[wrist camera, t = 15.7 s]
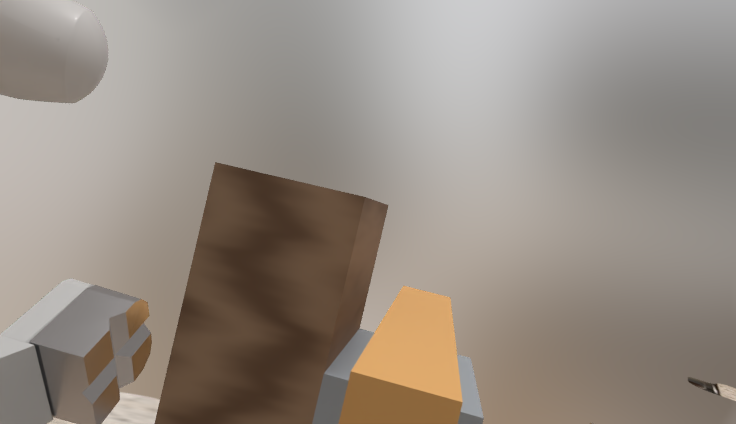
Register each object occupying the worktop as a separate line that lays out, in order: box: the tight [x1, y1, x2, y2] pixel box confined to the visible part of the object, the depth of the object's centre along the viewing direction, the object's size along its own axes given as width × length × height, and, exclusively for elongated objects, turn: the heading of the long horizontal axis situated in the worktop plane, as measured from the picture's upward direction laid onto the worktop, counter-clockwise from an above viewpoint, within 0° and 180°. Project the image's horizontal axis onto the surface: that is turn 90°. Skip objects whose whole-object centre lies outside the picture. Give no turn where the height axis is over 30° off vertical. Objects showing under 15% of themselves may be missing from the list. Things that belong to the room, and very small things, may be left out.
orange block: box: [338, 286, 463, 424], centre depth 29 cm, size 4×24×4 cm, turn 172°
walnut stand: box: [155, 163, 388, 424], centre depth 34 cm, size 8×12×26 cm, turn 172°
